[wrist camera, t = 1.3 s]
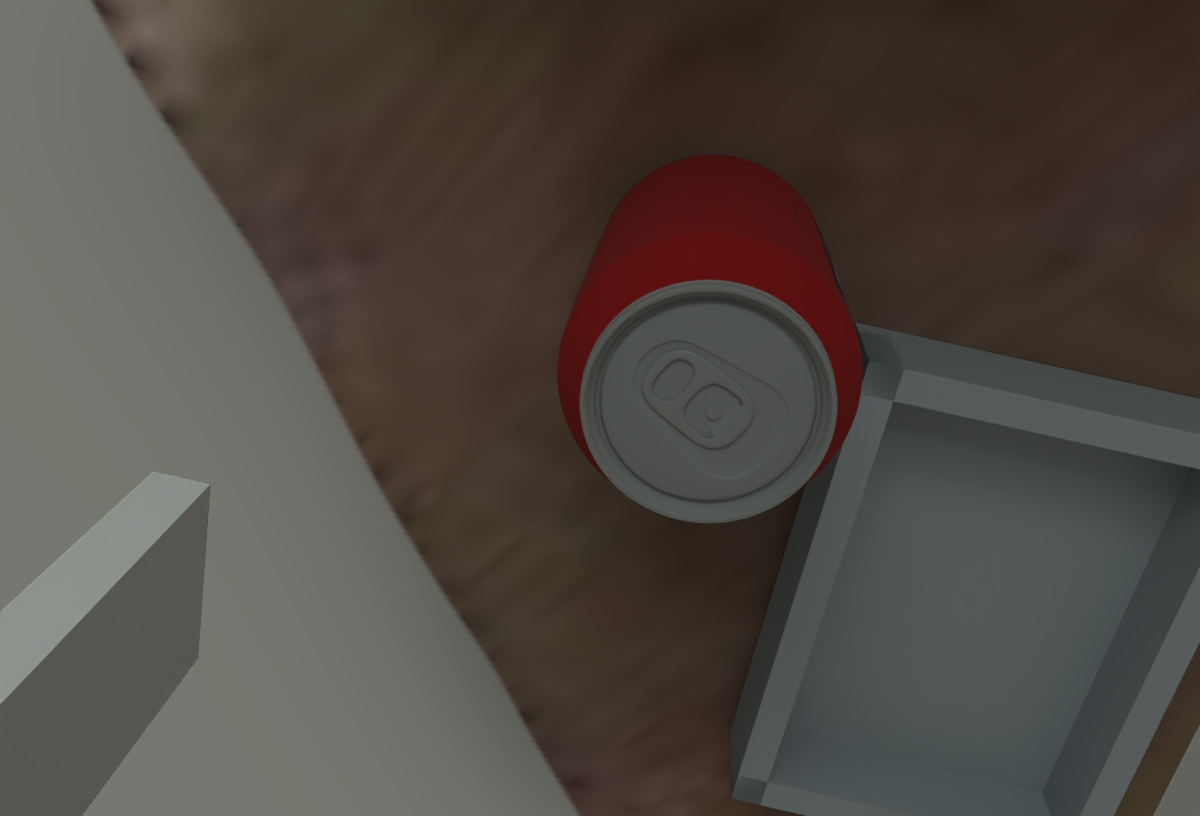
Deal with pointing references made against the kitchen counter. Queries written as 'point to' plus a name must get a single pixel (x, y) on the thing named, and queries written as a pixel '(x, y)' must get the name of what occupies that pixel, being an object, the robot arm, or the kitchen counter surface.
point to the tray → (977, 594)
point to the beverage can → (710, 344)
